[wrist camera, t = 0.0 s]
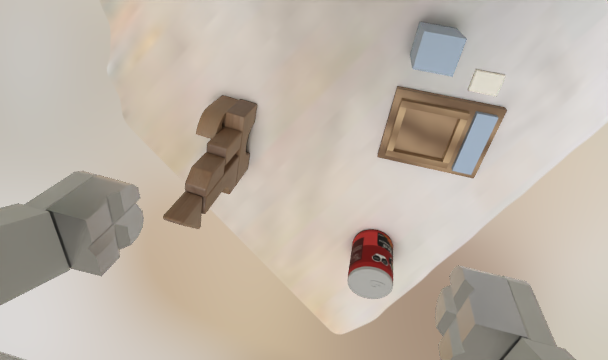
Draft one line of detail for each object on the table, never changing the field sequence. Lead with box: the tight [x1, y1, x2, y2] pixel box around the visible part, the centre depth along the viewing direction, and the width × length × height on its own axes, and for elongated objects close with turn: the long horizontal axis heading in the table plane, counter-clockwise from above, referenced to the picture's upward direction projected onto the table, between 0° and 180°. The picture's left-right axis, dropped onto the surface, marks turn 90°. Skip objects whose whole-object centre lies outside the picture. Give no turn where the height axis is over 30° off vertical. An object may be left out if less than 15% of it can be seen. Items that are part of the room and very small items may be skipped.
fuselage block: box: [410, 22, 467, 77], centre depth 45 cm, size 4×5×8 cm
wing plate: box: [452, 111, 498, 175], centre depth 53 cm, size 10×3×1 cm, turn 172°
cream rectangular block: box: [468, 69, 506, 97], centre depth 50 cm, size 3×4×1 cm
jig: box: [378, 86, 507, 178], centre depth 54 cm, size 12×16×2 cm
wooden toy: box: [163, 95, 257, 229], centre depth 54 cm, size 15×7×25 cm, turn 168°
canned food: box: [348, 230, 393, 299], centre depth 66 cm, size 8×8×11 cm
